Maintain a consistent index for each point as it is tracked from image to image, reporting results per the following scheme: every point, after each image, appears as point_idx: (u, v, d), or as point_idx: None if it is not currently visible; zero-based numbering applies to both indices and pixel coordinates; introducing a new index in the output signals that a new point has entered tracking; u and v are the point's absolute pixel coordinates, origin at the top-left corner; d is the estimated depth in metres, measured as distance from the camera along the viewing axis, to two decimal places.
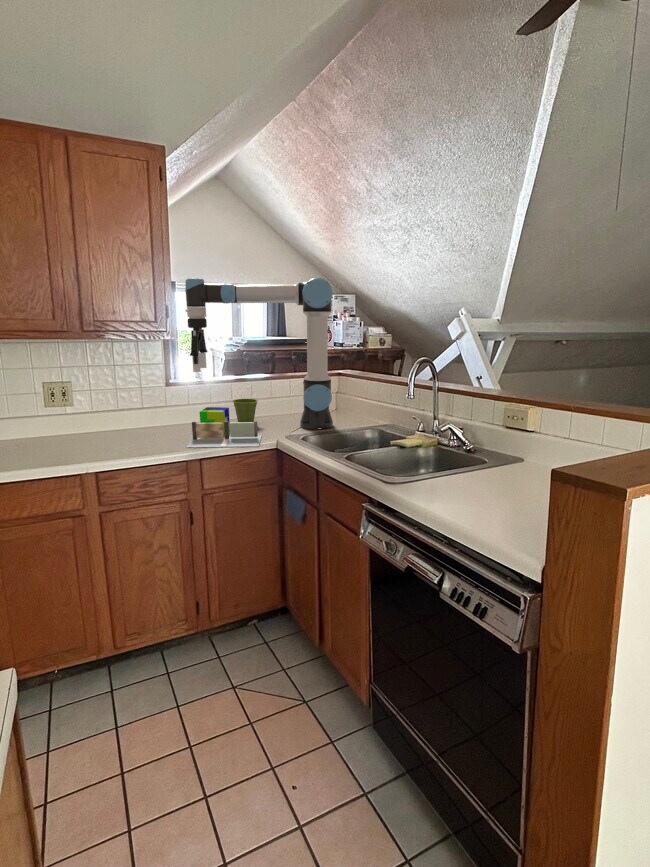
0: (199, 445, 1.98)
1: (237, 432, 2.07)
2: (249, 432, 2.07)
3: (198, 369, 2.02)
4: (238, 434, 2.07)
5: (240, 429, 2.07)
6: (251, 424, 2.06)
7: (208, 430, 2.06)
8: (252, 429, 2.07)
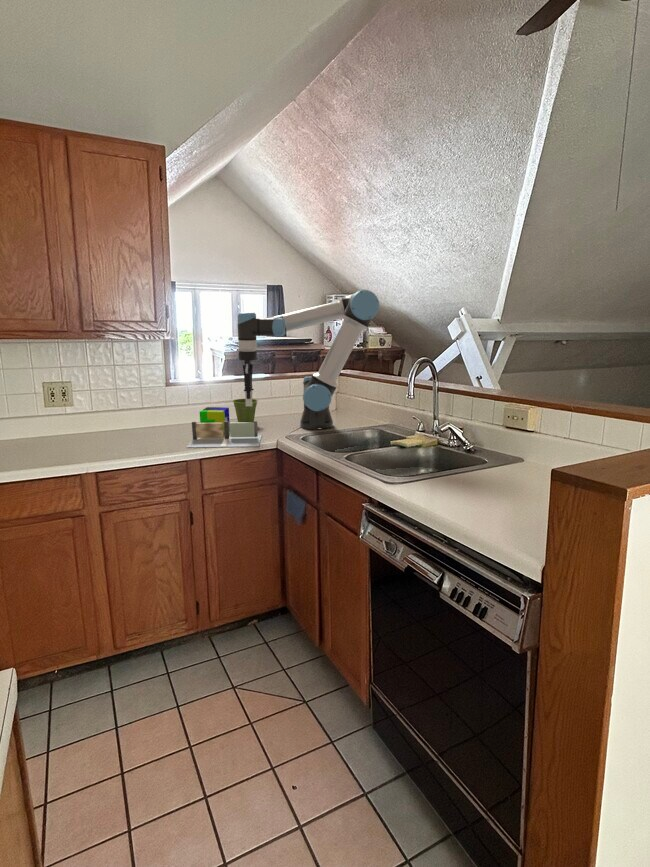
0: (199, 445, 1.98)
1: (237, 432, 2.07)
2: (249, 432, 2.07)
3: (250, 404, 2.13)
4: (238, 434, 2.07)
5: (240, 429, 2.07)
6: (251, 424, 2.06)
7: (208, 430, 2.06)
8: (252, 429, 2.07)
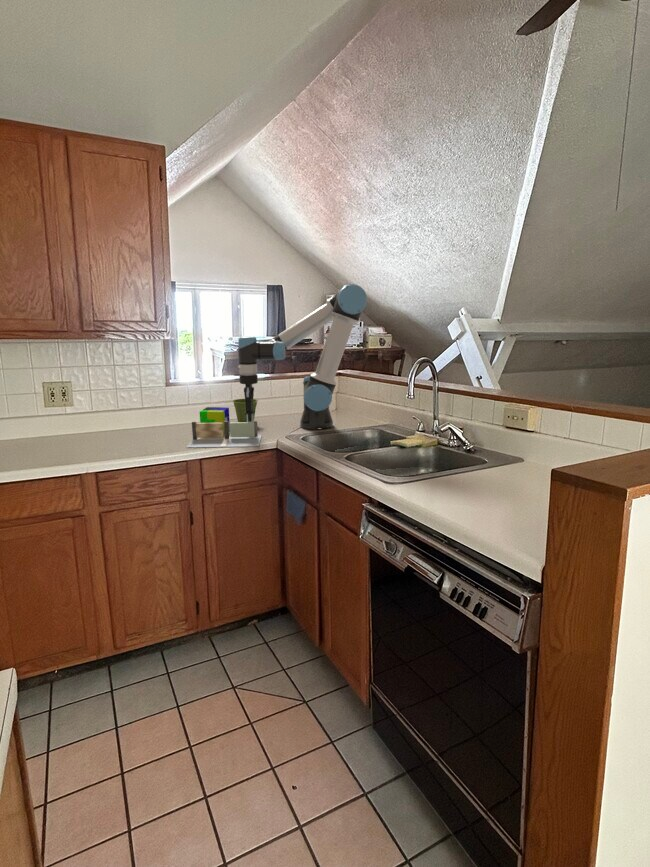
0: (199, 445, 1.98)
1: (237, 432, 2.07)
2: (249, 432, 2.07)
3: None
4: (238, 434, 2.07)
5: (240, 429, 2.07)
6: (251, 424, 2.06)
7: (208, 430, 2.06)
8: (252, 429, 2.07)
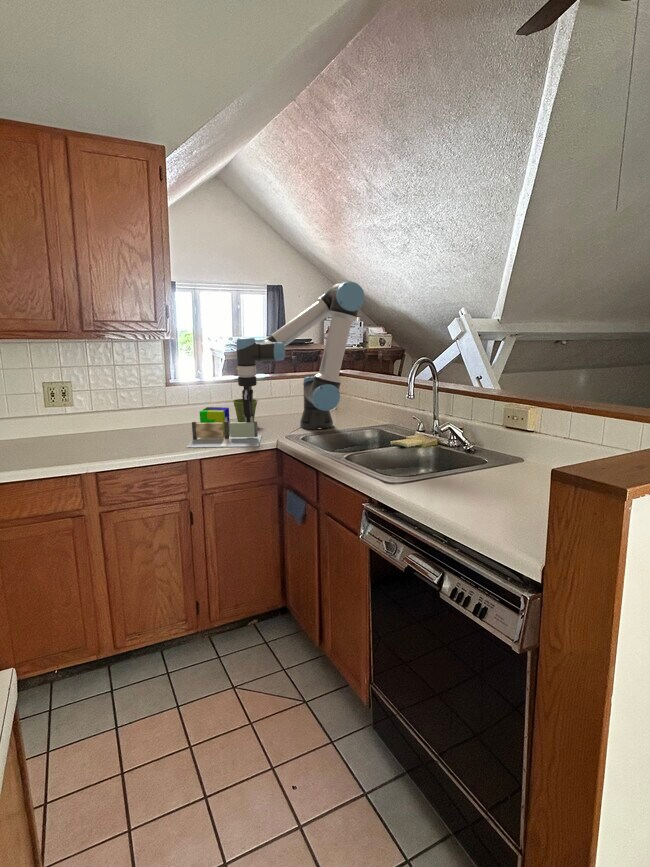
0: (199, 445, 1.98)
1: (237, 432, 2.07)
2: (249, 432, 2.07)
3: None
4: (238, 434, 2.07)
5: (240, 429, 2.07)
6: (251, 424, 2.06)
7: (208, 430, 2.06)
8: (252, 429, 2.07)
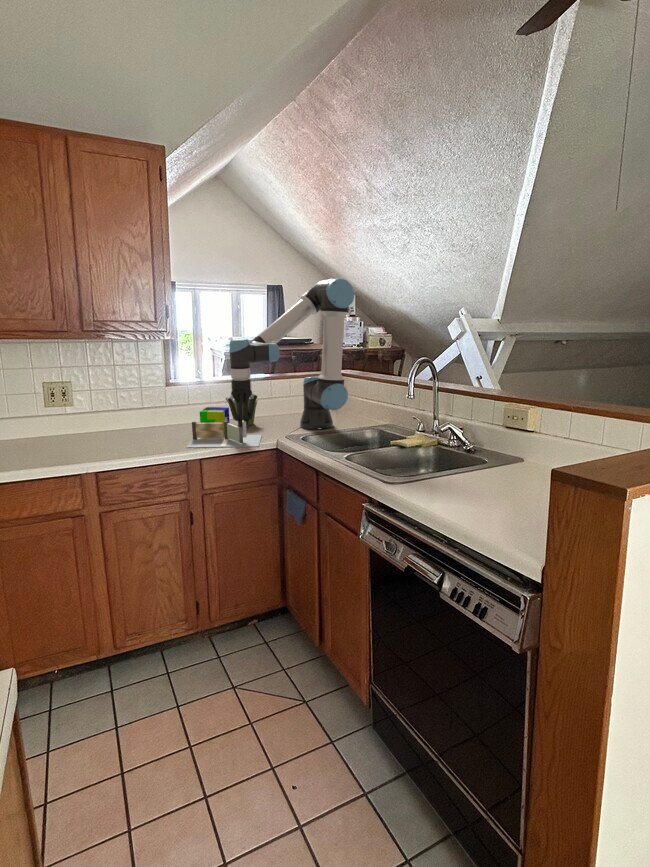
0: (199, 445, 1.98)
1: (230, 434, 2.04)
2: (236, 437, 2.00)
3: None
4: (231, 437, 2.03)
5: (232, 432, 2.02)
6: (237, 429, 1.98)
7: (208, 430, 2.06)
8: (238, 434, 1.99)
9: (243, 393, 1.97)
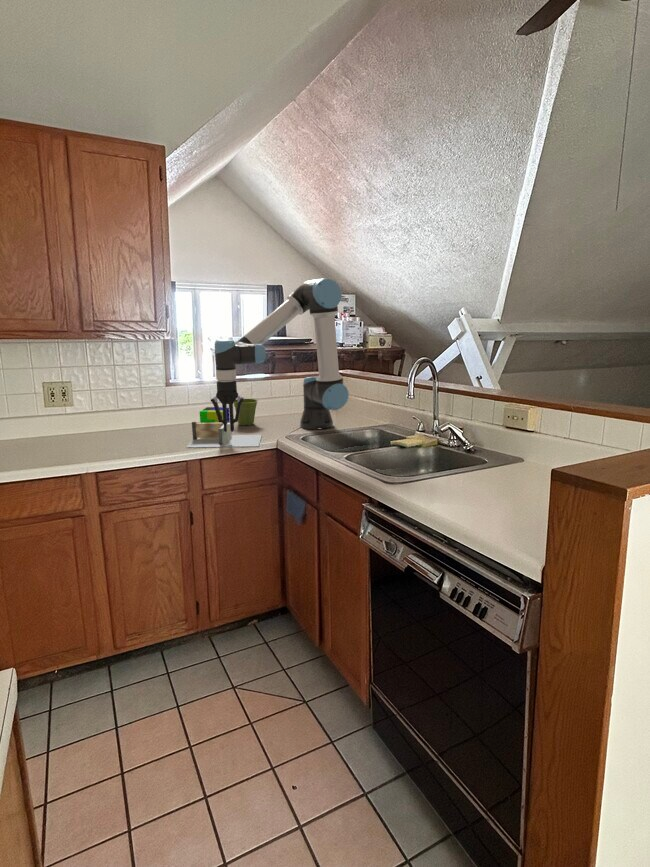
0: (199, 445, 1.98)
1: None
2: None
3: None
4: None
5: None
6: None
7: (208, 430, 2.06)
8: None
9: (227, 395, 1.93)
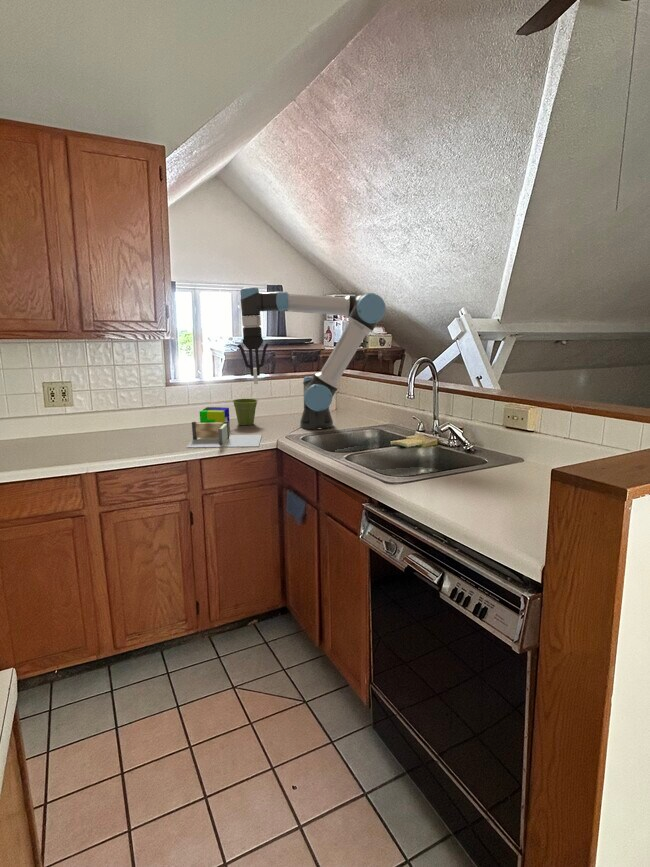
0: (199, 445, 1.98)
1: None
2: None
3: None
4: None
5: None
6: None
7: (208, 430, 2.06)
8: None
9: (253, 340, 2.06)
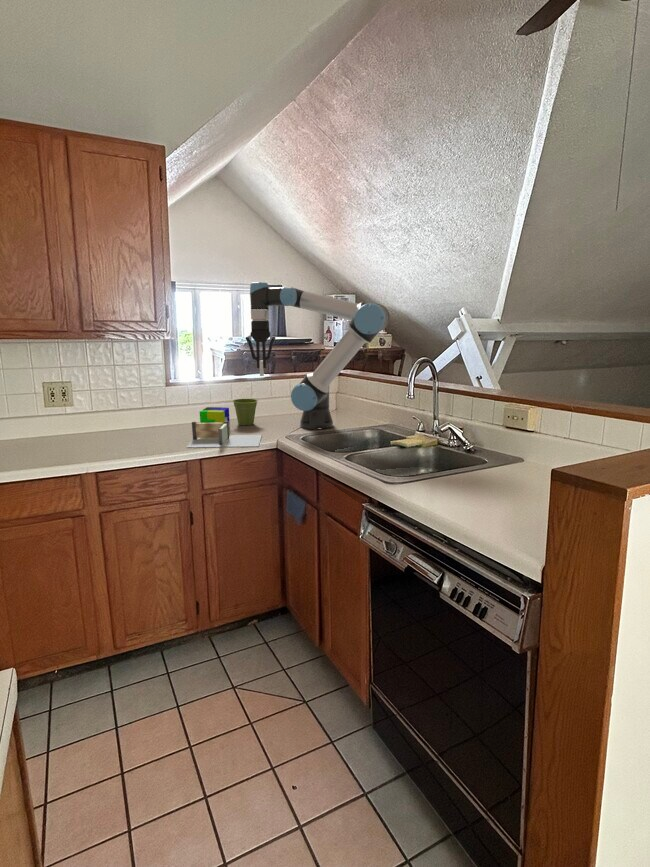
0: (199, 445, 1.98)
1: None
2: None
3: None
4: None
5: None
6: None
7: (208, 430, 2.06)
8: None
9: (261, 333, 2.13)
